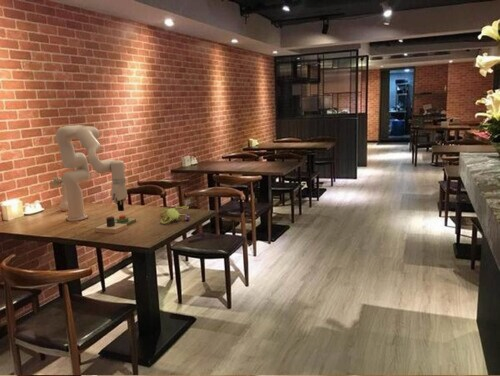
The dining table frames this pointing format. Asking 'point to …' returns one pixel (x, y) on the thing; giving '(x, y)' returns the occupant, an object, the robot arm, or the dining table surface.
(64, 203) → the flower vase
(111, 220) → the knob
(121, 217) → the button
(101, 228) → the cream flat block
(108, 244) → the dining table surface
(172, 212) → the figurine
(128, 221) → the housing
